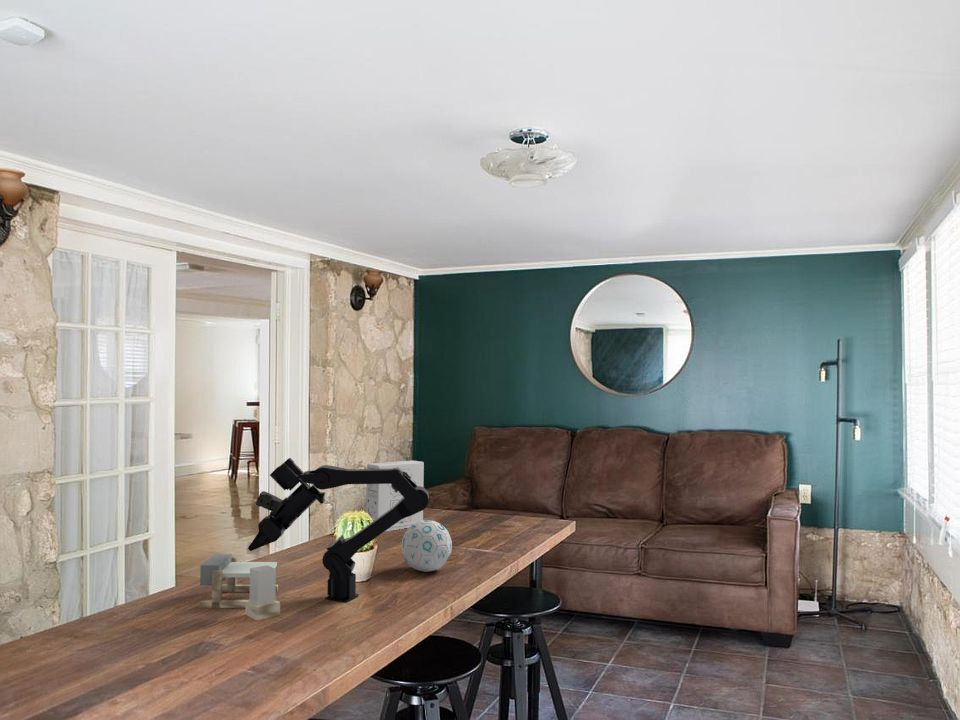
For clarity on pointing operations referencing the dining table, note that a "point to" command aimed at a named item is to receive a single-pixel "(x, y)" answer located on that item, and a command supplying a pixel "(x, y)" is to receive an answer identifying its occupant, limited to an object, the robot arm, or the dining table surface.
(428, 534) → the puzzle ball
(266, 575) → the grey tall block
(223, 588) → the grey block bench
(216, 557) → the trapdoor
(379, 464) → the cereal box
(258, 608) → the stone riser
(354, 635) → the dining table surface
